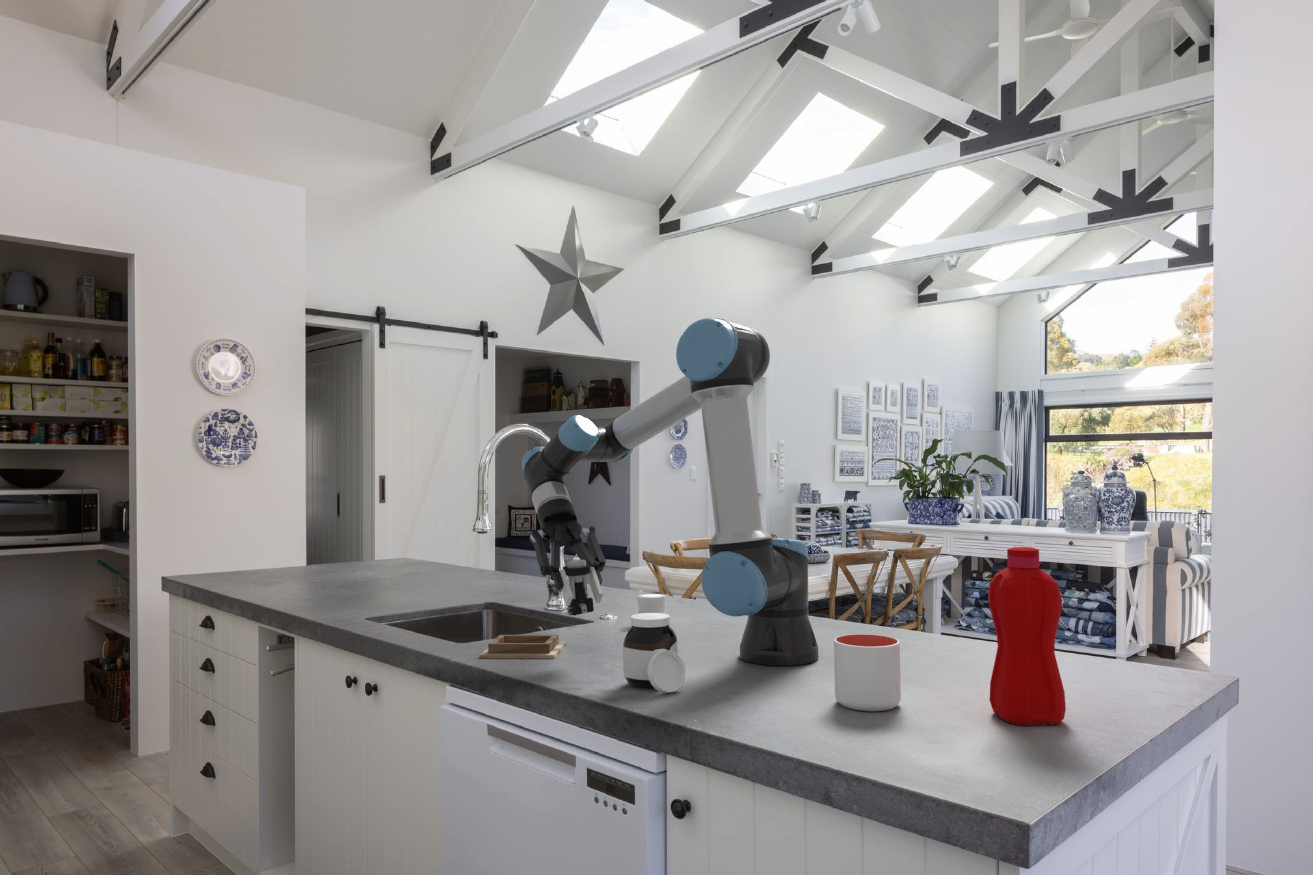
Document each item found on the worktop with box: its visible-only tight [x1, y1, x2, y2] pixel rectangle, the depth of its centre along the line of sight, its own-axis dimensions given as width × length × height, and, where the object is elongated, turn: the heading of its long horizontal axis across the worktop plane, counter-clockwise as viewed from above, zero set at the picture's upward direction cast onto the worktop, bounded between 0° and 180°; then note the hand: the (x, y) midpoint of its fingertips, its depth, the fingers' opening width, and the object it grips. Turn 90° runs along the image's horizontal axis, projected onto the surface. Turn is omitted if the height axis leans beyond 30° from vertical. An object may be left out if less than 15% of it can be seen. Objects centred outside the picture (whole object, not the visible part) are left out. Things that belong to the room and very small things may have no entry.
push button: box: [562, 559, 595, 617], centre depth 168 cm, size 7×5×10 cm
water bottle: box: [987, 546, 1067, 726], centre depth 130 cm, size 9×11×25 cm
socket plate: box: [478, 634, 567, 659], centre depth 179 cm, size 13×15×2 cm
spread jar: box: [622, 613, 687, 694], centre depth 150 cm, size 12×11×12 cm
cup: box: [833, 633, 902, 712], centre depth 137 cm, size 10×10×10 cm
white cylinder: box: [636, 592, 667, 614], centre depth 206 cm, size 7×7×7 cm
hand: (584, 599), depth 164 cm, fingers closed on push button, 5 cm apart
